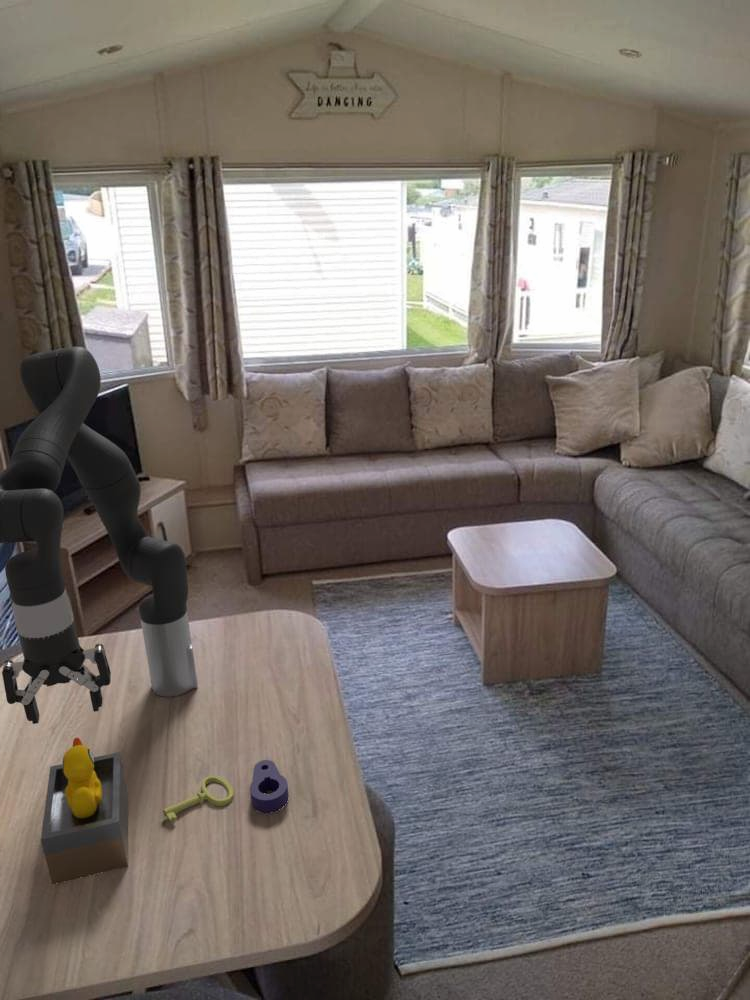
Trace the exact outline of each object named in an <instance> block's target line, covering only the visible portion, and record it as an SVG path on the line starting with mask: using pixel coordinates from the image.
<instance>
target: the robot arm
mask: <svg viewBox="0 0 750 1000" xmlns="http://www.w3.org/2000/svg"><path fill="white" fill-rule="evenodd" d="M19 374H20V379H21V383H22V386H23V388H24V390H25V393H26V395H27V398H29V400H30V402H31V403H32V405H33V407H34V408H35V410H36V411H37V412H38V414H39V415H38V416H37V417H36V418H34V420H33V421H32V422H31V423H30V424H28V425H27V427H26V428H25V429H24V430H23V431H22V433H21V435H20V436H19V437H18V439H17V441H16V444H15V447H14V449H13V452H12V455H11V456H10V457H11V458H10V459H9V460H10V461H9V463H8V466H7V467H6V468H4V470H3V471H2V472H1V473H0V544H9V543H11V544H12V543H24V542H25V543H29V542H35V543H36V547H35V548H32V549H28V550H24V551H22V552H19V553H17V554H15V555H13V556H11V557H10V558H9V559H8V560H7V562H6V564H5V567H4V571H5V578H6V581H7V585H8V589H9V594H10V597H11V598H10V599H11V602H12V603H11V604H12V613H13V618H14V626H15V629H16V630H17V634H18V639H19V643H20V646H21V651H22V654H23V661H16V662H14V661H13V660H12V659H7V660H5V661H4V663H3V665H2V666H3V667H2V671H1V675H2V681H3V687H4V692H5V697H6V702H7V703H8V704H9V705H14V704H15V703H18V704H22V706H23V709H24V713H25V716H26V719H27V721H28V722H31V723H32V724H33V725H35V724H39V722H40V712H39V708H38V704H37V700H36V696H35V695H37V694H38V692H39V690H40V689H41V687H42V686H46V688H47V687H51V686H56V685H57V684H68V683H70V681H74V683H76V684H78V685H79V686H84V687H85V688H86V689H88V690H89V697H90V700H91V705H92V710H93V712H94V713H96V712H99V710H100V708H101V707H103V701H104V700H103V698H104V697H103V693H102V687H104V686H106V687H107V686H109V685H110V684H111V677H112V673H111V667H110V666H109V661H108V658H107V654H106V651H105V647H104V644H102V643H96V644H95V645H94V647H93V648H90V649H89V648H88V649H83V648H82V647H81V645H80V641H79V636H78V632H77V627H76V621H75V618H74V617H75V616H74V612H73V608H72V603H71V599H70V597H69V593H68V591H67V588H66V584H65V581H64V579H65V578H64V575H63V574H64V573H63V570H62V564H61V563H62V562H61V541H62V531H63V526H64V525H63V523H64V515H65V514H64V506H63V503H62V501H61V498H59V496H58V495H57V494H56V493H55V491H57V488H58V486H59V485H60V482H61V478H62V475H63V472H64V468H65V466H66V465H65V464H66V461H67V459H68V461H69V463H70V465H71V467H72V469H73V470H74V472H75V474H76V476H77V478H78V481H79V482H80V485H81V487H82V488H83V490H84V492H85V493H86V496H87V497H88V499H89V501H90V503H91V504H92V506H93V508H94V509H95V511H96V514H98V517H99V519H100V521H101V522H102V524H103V526H104V529H105V530H106V532H107V534H108V536H109V538H110V541H111V543H112V545H113V549H114V551H115V553H116V556H117V558H118V561H119V564H120V566H121V568H122V570H123V572H124V574H125V575H126V576H127V577H128V578H129V579H130V580H132V581H134V582H136V583H138V584H141V585H145V586H146V585H147V586H149V587H151V588H152V593H151V594H149V595H147V596H145V597H144V598H143V599H142V600H141V601H140V602H139V606H138V613H139V618H140V623H141V625H140V626H141V629H142V637H143V642H144V649H145V652H146V653H145V654H146V660H147V665H148V671H149V676H150V683H151V688H152V691H153V692H154V693H155V694H156V695H158V696H160V697H169V698H170V697H177V696H180V695H181V696H182V695H184V694H186V693H188V692H189V691H191V690H192V689H196V688H198V687H199V685H198V679H197V672H196V671H197V670H196V663H195V656H194V651H193V649H194V648H193V642H192V635H191V629H190V622H189V617H188V615H189V614H188V607H187V602H188V597H189V585H188V584H189V582H188V569H187V562H186V561H187V560H186V556H185V553H184V551H183V548H182V546H180V545H179V544H177V543H175V542H171V541H167V540H163V539H159V538H154V537H152V536H151V535H150V534H148V532H147V531H146V529H145V527H144V525H143V524H142V522H141V520H140V518H139V513H138V510H139V506H140V502H141V501H140V500H141V493H142V492H141V490H142V489H141V484H140V483H141V482H140V480H139V478H138V475H137V474H136V471H135V469H134V467H133V466H132V463H131V461H130V459H129V457H128V456H127V454H126V453H125V451H123V450H122V449H121V448H120V447H119V446H118V445H116V444H115V443H113V442H112V441H111V440H110V439H108V438H106V437H105V436H103V435H102V434H100V433H98V432H97V431H95V430H94V429H92V428H91V427H89V426H88V425H87V424H85V423H84V421H85V420H86V418H87V416H88V415H89V413H90V410H91V409H92V407H94V406H93V405H94V404H95V402H96V400H97V399H98V396H99V393H100V389H101V380H102V379H101V378H102V377H101V372H100V369H99V365H98V362H97V361H96V359H95V357H94V356H93V354H92V353H91V351H89V350H88V348H87V349H86V348H85V347H83V346H67V347H64V348H63V347H61V348H57V349H54V350H48V351H44V352H39V353H35V354H30V355H28V356H25V357H24V358H23V359H22V361H21V363H20V365H19ZM87 659H88V660H89V661H90V662H91V664H93V665H95V664H96V667H97V671H98V673H99V675H98V674H97V675H96V674H95V673H93V672H92V671H91V670H90V669H89V667H88V666H86V665H85V664H84V662H85V660H87ZM22 671H23V672H24V673H25V674H26V675H28V676H30V678H29V681H28V683H27V684H26V686H25V687H24V689H19V687H18V682H17V681H18V680H17V679H18V678H19V676H20V672H22Z"/></svg>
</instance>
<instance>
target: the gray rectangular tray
mask: <svg viewBox="0 0 750 1000" xmlns="http://www.w3.org/2000/svg"><path fill="white" fill-rule="evenodd" d="M93 758H94V769H93V770H94V771H95V773H96V775H97V778H98V779H99V780H100V783H101V786H102V801H101V803H100V804H98V805H97V809H96V811H95V813H94V814H93V815H92V816H90V817H87V818H83V819H80V818H77V817H75V816H74V814H73V812H72V811H71V810H70V808H69V806H68V803H67V799H66V794H65V789H66V787H67V786H68V779H67V778H66V776H65V774H64V772H63V766H62V763H61V764H57V765H51V766H50V767H49V774H48V780H47V781H48V782H47V789H46V796H45V803H44V804H45V805H44V813H43V819H42V826H41V836H40V842H41V847H42V850H43V854H44V858H45V862H46V866H47V869H48V872H49V873H48V874H49V877H50V882H51V885H52V886H53V884H55V885H57V884H56V883H59V884H62V883H61V882H63V883H65V882H64V881H67V882H70V881H69V880H71V881H75V880H78V879H77V878H79V879H81V878H80V877H83V878H87V877H90V876H89V875H91V876H94V874H95V875H98V874H97V873H99V874H102V873H101V872H103V873H106V872H110V870H111V871H115V870H119V869H123V868H126V867H129V791H128V786H127V781H126V776H125V771H124V766H123V761H122V755H121V752H120V751H118V752H113V753H109V754H104V755H100V756H93ZM114 869H115V870H114ZM86 876H87V877H86ZM74 879H75V880H74Z"/></svg>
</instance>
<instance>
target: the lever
mask: <svg viewBox="0 0 750 1000" xmlns="http://www.w3.org/2000/svg"><path fill="white" fill-rule="evenodd" d="M252 774H253V776H252V782H251V783H250V785H249V792H250V793H249V794H250V802H251V806H252V808H253V810H255V811H256V810H257V811H256V812H258V811H259V812H258V813H260V812H261V813H260V814H265V813H270V814H272V813H271V812H275V813H277V812H279V811H280V810H279V809H281V808H282V807H283V806H285V804H286V803H287V801H288V802H289V800H288V797H289V788H288V781H287V778H286V777H285V776H284V775H282V774H280V772H279V769H278V767H277V765H276V764H275V762H274V761H273V760H270V759H264V760H263V759H262V760H260V761H258V762H257V763H255V765H254V767H253V773H252ZM268 791H271V793H267V792H268ZM273 791H274V792H273ZM264 793H265V794H264ZM287 804H288V803H287ZM287 804H286V805H287ZM285 807H286V806H285ZM278 810H279V811H278ZM281 810H282V809H281ZM276 811H277V812H276Z"/></svg>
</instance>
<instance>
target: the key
mask: <svg viewBox="0 0 750 1000" xmlns="http://www.w3.org/2000/svg"><path fill="white" fill-rule="evenodd" d="M212 782H215V783H216V782H217V783H218V784H220V785H222V786H224V788H225V789H226V790H227V794H228V796H227V797H226V798H221V799H220V798H217V797H214V796H213V795H212V794H211V793H210V792H209V791H208V790H207V788H206V786H207V785H208V784H209V783H212ZM200 789H201V792H197V794H196V795H195V796H193V797H190V798H188V799H185V800H182V801H181V802H179V803H176V804H174V805H172V806H169V807H166V808H164V809H163V810H162V813H163V816H164V817H166V818H167V819H168V820H169V822H172V821H173V820H177V819H178V817H177V815H176V813H178V812H180V811H182V810H185V809H188V808H190V807H192V806H195V805H197V804H202V805H203V804H204V801H207V802H208V803H209V804H211V805H213V806H215V807H216V806H217V807H223V806H226V805H228V804H230V803H231V802H232V800H234V796H235V791H234V788H233V786H232V785H231V783H229V781H228V780H227V779H226V778H224V777H221V776H218V775H209V776H206V777H205V778H203V779H202V782H201V785H200Z"/></svg>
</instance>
